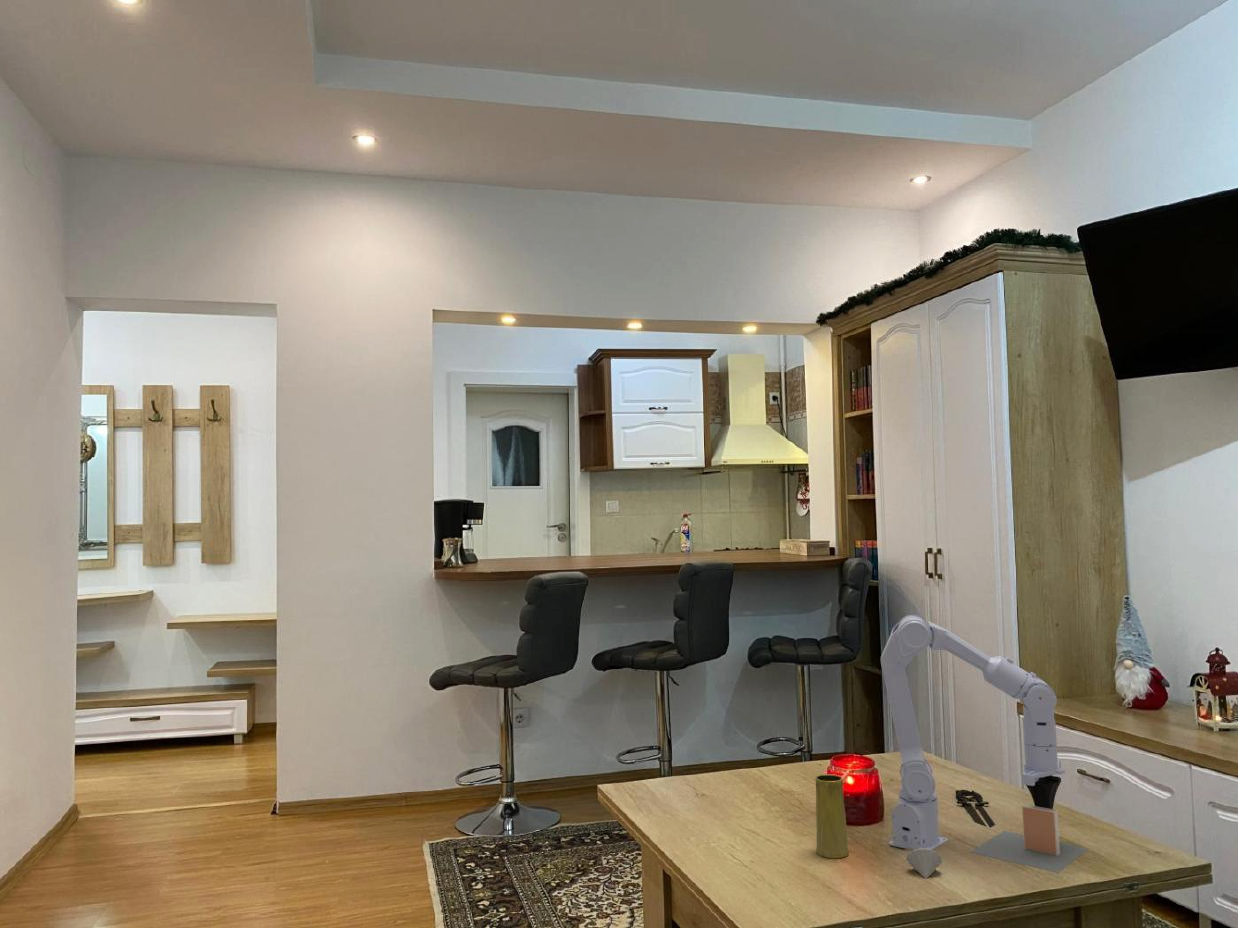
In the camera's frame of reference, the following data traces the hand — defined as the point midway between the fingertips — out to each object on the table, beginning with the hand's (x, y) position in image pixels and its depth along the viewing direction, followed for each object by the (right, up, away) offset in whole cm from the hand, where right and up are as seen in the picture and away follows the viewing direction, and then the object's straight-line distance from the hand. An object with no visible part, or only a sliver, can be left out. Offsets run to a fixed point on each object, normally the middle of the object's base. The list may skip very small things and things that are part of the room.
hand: (1044, 815), depth 175 cm
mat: (-4, -6, -1) cm, 7 cm away
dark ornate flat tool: (-3, -9, +24) cm, 26 cm away
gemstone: (-26, -7, -10) cm, 29 cm away
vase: (-40, -8, +1) cm, 41 cm away
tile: (-1, -6, -2) cm, 6 cm away
